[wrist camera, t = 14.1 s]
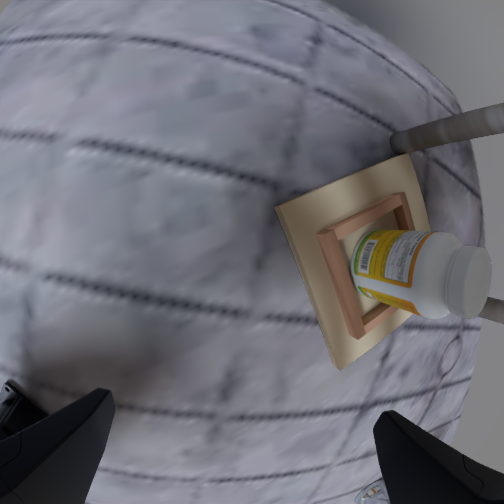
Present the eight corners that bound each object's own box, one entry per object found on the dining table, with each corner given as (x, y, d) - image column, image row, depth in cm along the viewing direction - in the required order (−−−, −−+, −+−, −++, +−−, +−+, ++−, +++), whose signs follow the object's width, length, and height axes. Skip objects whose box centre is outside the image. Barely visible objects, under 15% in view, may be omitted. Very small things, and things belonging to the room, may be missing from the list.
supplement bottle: (401, 279, 21) (496, 301, 12) (356, 308, 20) (457, 350, 11) (389, 219, 20) (493, 221, 11) (340, 243, 19) (454, 258, 10)
